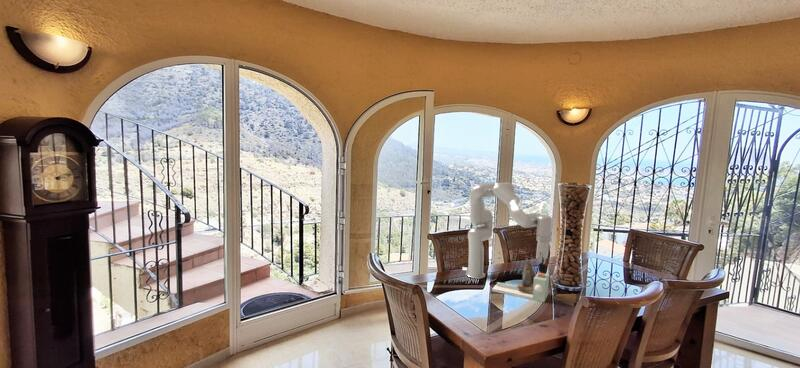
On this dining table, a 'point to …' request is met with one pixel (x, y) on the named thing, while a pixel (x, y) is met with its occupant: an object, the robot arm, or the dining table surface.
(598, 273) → the dining table surface
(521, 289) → the carriage
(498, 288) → the rail base
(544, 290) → the gauge cabinet
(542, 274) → the button
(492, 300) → the dining table surface
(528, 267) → the worn brown figurine
